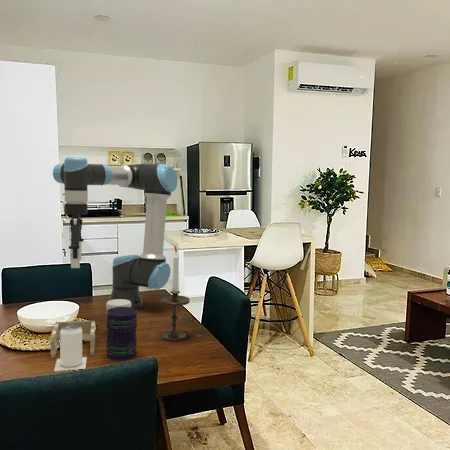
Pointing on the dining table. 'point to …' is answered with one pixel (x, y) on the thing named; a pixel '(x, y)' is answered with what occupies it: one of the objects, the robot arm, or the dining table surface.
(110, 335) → the storage jar
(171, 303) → the candlestick
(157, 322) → the dining table surface
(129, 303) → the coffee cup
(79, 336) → the can
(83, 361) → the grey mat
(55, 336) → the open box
